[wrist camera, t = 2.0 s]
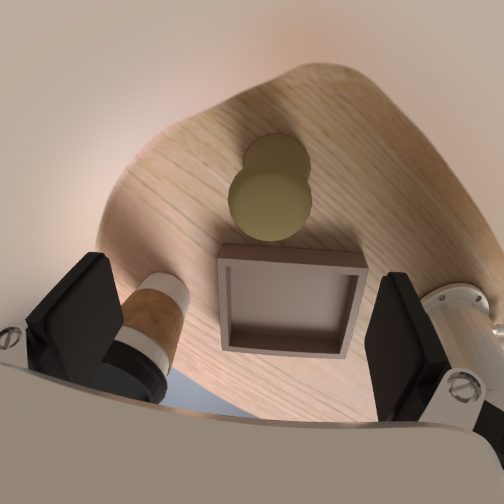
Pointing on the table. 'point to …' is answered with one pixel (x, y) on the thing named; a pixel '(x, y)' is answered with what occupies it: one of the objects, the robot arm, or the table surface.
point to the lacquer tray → (289, 300)
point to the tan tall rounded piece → (272, 189)
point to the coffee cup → (145, 341)
